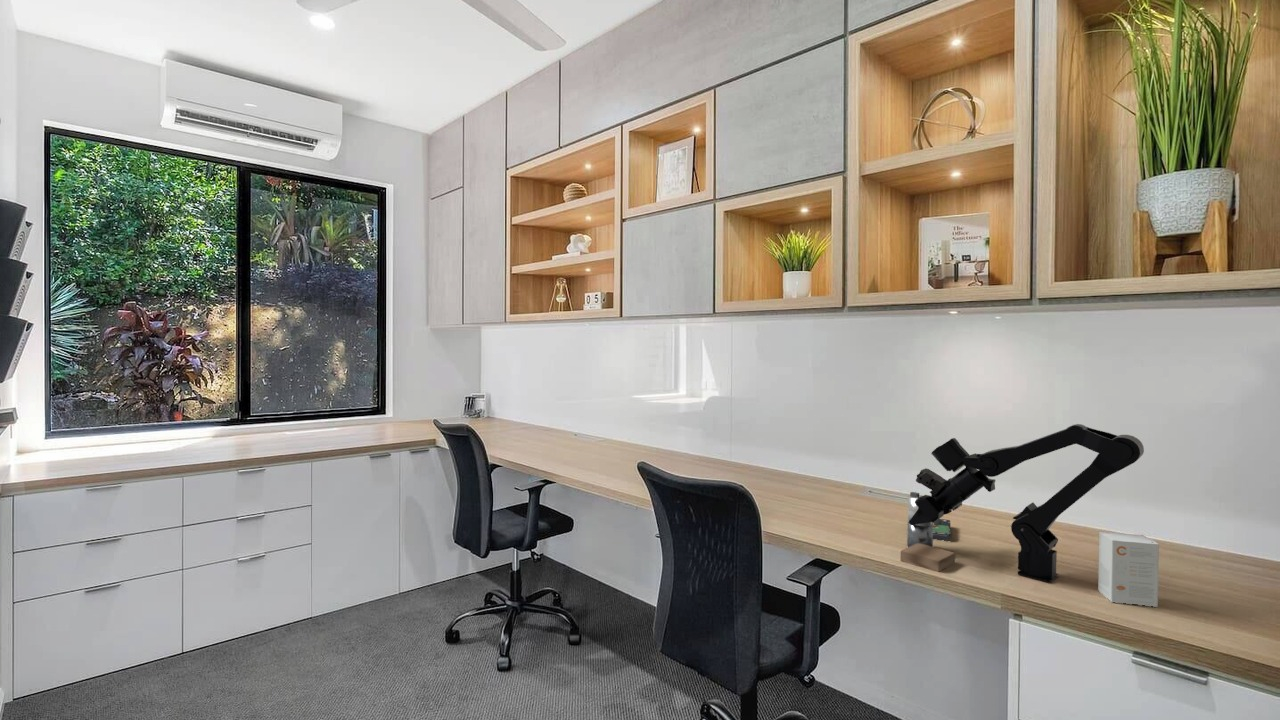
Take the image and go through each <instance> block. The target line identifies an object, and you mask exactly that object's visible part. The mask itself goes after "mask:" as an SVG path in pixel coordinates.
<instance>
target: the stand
mask: <svg viewBox="0 0 1280 720" xmlns="http://www.w3.org/2000/svg"><path fill="white" fill-rule="evenodd" d="M900 562H903V563H906V564H910V565H914V566H916V567H917V566H918V567H920V568H924V569H928V570H931V571H933V572H937V573H939V572H941V571H943V570H944V568H945V569H946V567H947V568H948V567H950V566H952V565H954V564H955V563H956V552H953V551H950V550H946V549H942V548H937V547H935V546H933V547H931V546H927V545H923V544H919V543H917V544H915V545H912V546H910V547H905V548H904V549H901V550H900ZM953 563H954V564H953ZM951 564H952V565H951ZM949 565H950V566H949ZM942 569H943V570H942Z"/></svg>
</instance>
